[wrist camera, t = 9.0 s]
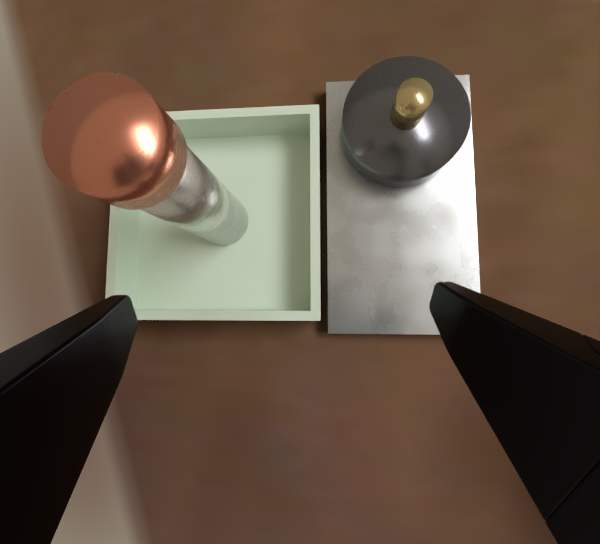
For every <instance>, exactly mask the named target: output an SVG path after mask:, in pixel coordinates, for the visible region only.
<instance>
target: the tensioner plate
mask: <svg viewBox="0 0 600 544" xmlns="http://www.w3.org/2000/svg"><path fill="white" fill-rule="evenodd" d="M326 152H327V279H328V334H427V335H440V333H439V331H438V328H437V326H436V324H435V322H434V319H433V317H432V315H431V313H430V309H429V304H430V300H431V296H432V293H433V289H434V286H435V284H436V283H437V282H445V281H450V282H453V283H456V284H458V285H461V286H463V287H466V288H468V289H471V290H473V291H476V292H478V293H480V277H479V257H478V237H477V218H476V198H475V178H474V159H473V139H472V119H471V100H470V80H469V75H454V74H453V73H452V72H450V71H449V70H448V69H446V68H445V67H444V66H442V65H440V64H438V63H436V62H434V61H431V60H429V59H425V58H421V57H413V56H403V57H395V58H391V59H387V60H385V61H382V62H379V63H377V64H376V65H374V66H372V67H370V68H369V69H368V70H366V71H365V72H364V73H363V74H362V75H360V76H359V78H358V79H357V80H356V81H343V82H326Z"/></svg>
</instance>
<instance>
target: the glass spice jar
mask: <svg viewBox="0 0 600 544" xmlns="http://www.w3.org/2000/svg"><path fill="white" fill-rule="evenodd" d="M42 148H43V153H44V157H45V160H46V162H47V164H48V166H49V168H50V169H51V171H52V172H53V174H54V175H55V176H56V177H57V178H58V179H59V180H60V181H61V182H63V183H64V184H66V185H67V186H69V187H71V188H73V189H75V190H78V191H80V192H83V193H85V194H87V195H90V196H92V197H94V198H97V199H99V200H101V201H104V202H106V203H109V204H111V205H113V206H116V207H118V208H122V209H127V210H139V209H140V210H142V211H145V212H147V213H149V214H151V215H153V216H155V217H158V218H160V219H162V220H164V221H166V222H168V223H171V224H173V225H175V226H177V227H179V228H182V229H184V230H186V231H188V232H190V233H192V234H195V235H197V236H199V237H201V238H203V239H205V240H208V241H210V242H212V243H214V244H217V245H230V244H233V243H235V242H237V241H238V240H239V239H240V238H241V237H242V236H243V235H244V234H245V232H246V230H247V227H248V213H247V211H246V209H245V207H244V206H243V204H242V203H241V202H240V201H239V200H238V199H237V198H236V197H235V196H234V195H233V194H232V193H231V192H230V191H229V190H228V189H227V188H226V186H225V185H224V184H223V183H222V182H221V181H220V180H219V179H218V178H217V177H216V176H215V175H214V174H213V173H212V172H211V171H210V170H209V169H208V167H207V166H206V165H205V164H204V163H203V162H202V161H201V160H200V159H199V158H198V157H197V156H196V155H195V154H194V153H193V152H192V151H191V150H190V149H189V147H188V146H187V145H186V141H185V138H184V135H183V133H182V131H181V129H180V128H179V127H178V125H177V124H176V123H175V122H174V121H173V119H172V118H171V117H170V116H169V115H168V114H167V113H166V112H165V110H164V109H163V108H162V107H161V106H160V105H159V104H158V103H157V101H156V100H155V99H154V98H153V97H152V96H151V95H150V94H149V92H148V91H147V90H146V89H145V88H144V87H143V86H142V85H141V84H140V83H138V82H137V81H136V80H134V79H132V78H131V77H128V76H126V75H123V74H119V73H114V72H100V73H94V74H91V75H87V76H85V77H82V78H80V79H78V80H77V81H75V82H73V83H72V84H70V85H69V86H68V87H67V88H65V89H64V90H63V91H62V92H61V93H60V94H59V96H58V97H57V98H56V99H55V101H54V102H53V104H52V105H51V107H50V109H49V111H48V113H47V115H46V118H45V121H44V125H43V131H42Z"/></svg>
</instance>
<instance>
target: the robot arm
mask: <svg viewBox="0 0 600 544" xmlns="http://www.w3.org/2000/svg"><path fill="white" fill-rule="evenodd" d="M429 309H430V313H431V315H432V317H433V319H434V322H435V324H436V326H437V328H438V331H439V333H440V335H441V338H442V340H443V342H444V344H445V347H446V349H447V351H448V353H449V355H450V356H451V358H452V360H453V362H454V364H455V365H456V367H457V369H458V371H459V372H460V374H461V376H462V377H463V379H464V381H465V383H466V384H467V386H468V388H469V390H470V391H471V393H472V395H473V397H474V398H475V400H476V402H477V404H478V405H479V407H480V409H481V410H482V412H483V414H484V416H485V417H486V419H487V421H488V423H489V424H490V426H491V428H492V430H493V431H494V433H495V435H496V437H497V438H498V440H499V442H500V443H501V445H502V447H503V449H504V450H505V452H506V454H507V456H508V457H509V459H510V461H511V463H512V464H513V466H514V468H515V470H516V471H517V473H518V475H519V476H520V478H521V480H522V482H523V483H524V485H525V487H526V489H527V490H528V492H529V494H530V496H531V497H532V499H533V501H534V503H535V504H536V506H537V508H538V509H539V511H540V513H541V515H542V516H543V518H544V519H545V520H546V524H547V526H548V527H549V529H550V531H551V532H552V534H553V536H554V538H555V539H556V541H557V543H558V544H600V341H598V340H596V339H593V338H591V337H588V336H586V335H581V334H580V333H578V332H576V331H573V330H571V329H568V328H566V327H563V326H561V325H558V324H556V323H553V322H551V321H548V320H546V319H543V318H541V317H538V316H536V315H533V314H531V313H528V312H526V311H523V310H521V309H518V308H516V307H513V306H511V305H508V304H506V303H503V302H501V301H498V300H496V299H493V298H491V297H488V296H486V295H483V294H481V293H478V292H476V291H473V290H471V289H468V288H466V287H463V286H461V285H458V284H456V283H453V282H450V281H445V282H437V283H436V284H435V286H434V289H433V293H432V296H431V300H430V304H429ZM136 328H137V316H136V313H135V310H134V307H133V303H132V300H131V298H130V297H129V296H128V295H112V296H110V297H108V298H106V299H104V300H102V301H100V302H98V303H96V304H94V305H92V306H91V307H89V308H87V309H85V310H83V311H81V312H79V313H77V314H75V315H73V316H71V317H70V318H67V319H66V320H64V321H62V322H60V323H58V324H56V325H54V326H52V327H50V328H48V329H46V330H44V331H42V332H40V333H39V334H37V335H35V336H33V337H31V338H29V339H27V340H25V341H23V342H21V343H19V344H17V345H15V346H13V347H12V348H10V349H8V350H6V351H4V352H2V353H0V544H51V541H52V539H53V537H54V534H55V532H56V529H57V527H58V525H59V523H60V520H61V518H62V515H63V513H64V511H65V509H66V506H67V504H68V501H69V499H70V497H71V494H72V492H73V490H74V488H75V485H76V483H77V480H78V478H79V476H80V473H81V471H82V469H83V467H84V464H85V462H86V460H87V457H88V455H89V452H90V450H91V448H92V445H93V443H94V441H95V438H96V436H97V434H98V431H99V429H100V427H101V424H102V422H103V420H104V417H105V415H106V413H107V410H108V408H109V406H110V403H111V401H112V399H113V396H114V394H115V392H116V389H117V387H118V385H119V382H120V380H121V377H122V375H123V372H124V369H125V366H126V363H127V359H128V356H129V352H130V349H131V345H132V342H133V339H134V335H135V332H136Z"/></svg>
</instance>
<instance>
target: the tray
mask: <svg viewBox="0 0 600 544" xmlns="http://www.w3.org/2000/svg"><path fill="white" fill-rule="evenodd" d="M166 113H167V114H168V115H169V116H170V117H171V118H172V119H173V121H174V122H175V123H176V124H177V125H178V127H179V128H180V129H181V131H182V133H183V135H184V138H185V141H186V145H187V146H188V147H189V149H190V150H191V151H192V152H193V153H194V154H195V155H196V156H197V157H198V158H199V159H200V160H201V161H202V162H203V163H204V164H205V165H206V166H207V167H208V169H209V170H210V171H211V172H212V173H213V174H214V175H215V176H216V177H217V178H218V179H219V180H220V181H221V182H222V183H223V184H224V185H225V186H226V188H227V189H228V190H229V191H230V192H231V193H232V194H233V195H234V196H235V197H236V198H237V199H238V200H239V201H240V202H241V203H242V204H243V206H244V207H245V209H246V211H247V213H248V227H247V230H246V232H245V234H244V235H243V236H242V237H241V238H240V239H239V240H238V241H237V242H235V243H233V244H230V245H217V244H214V243H212V242H210V241H208V240H205V239H203V238H201V237H199V236H197V235H195V234H192V233H190V232H188V231H186V230H184V229H182V228H179V227H177V226H175V225H173V224H171V223H168V222H166V221H164V220H162V219H160V218H158V217H155V216H153V215H151V214H149V213H147V212H145V211H142V210H140V209H139V210H127V209H122V208H118V207H116V206H113V205H111V204H110V220H109V239H108V257H107V275H106V294H105V299H106V298H108V297H110V296H112V295H128V296H129V297H130V298H131V300H132V303H133V307H134V310H135V313H136V316H137V320H249V321H320V320H321V273H320V122H319V104H317V105H297V106H276V107H255V108H234V109H213V110H192V111H172V112H166Z"/></svg>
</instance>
